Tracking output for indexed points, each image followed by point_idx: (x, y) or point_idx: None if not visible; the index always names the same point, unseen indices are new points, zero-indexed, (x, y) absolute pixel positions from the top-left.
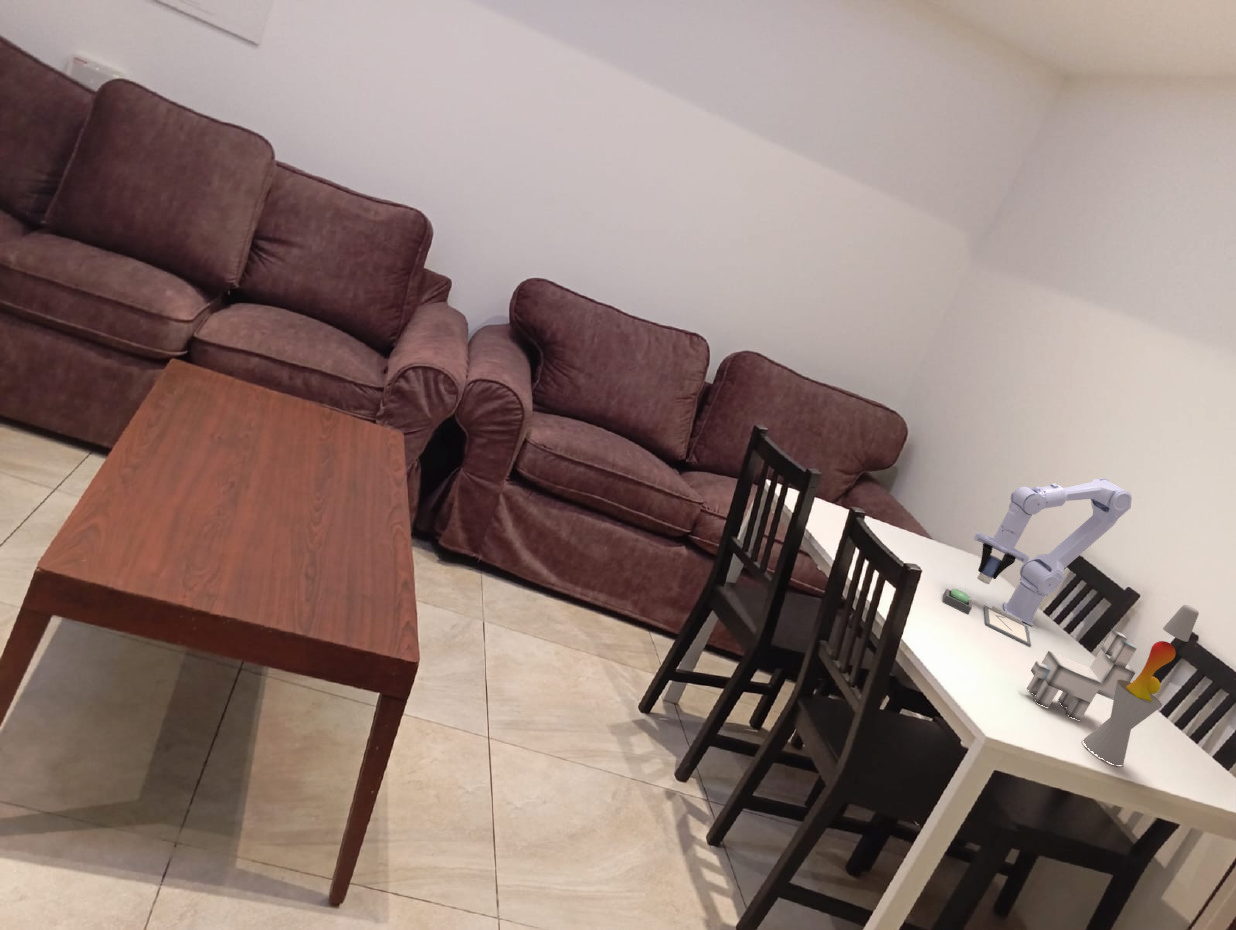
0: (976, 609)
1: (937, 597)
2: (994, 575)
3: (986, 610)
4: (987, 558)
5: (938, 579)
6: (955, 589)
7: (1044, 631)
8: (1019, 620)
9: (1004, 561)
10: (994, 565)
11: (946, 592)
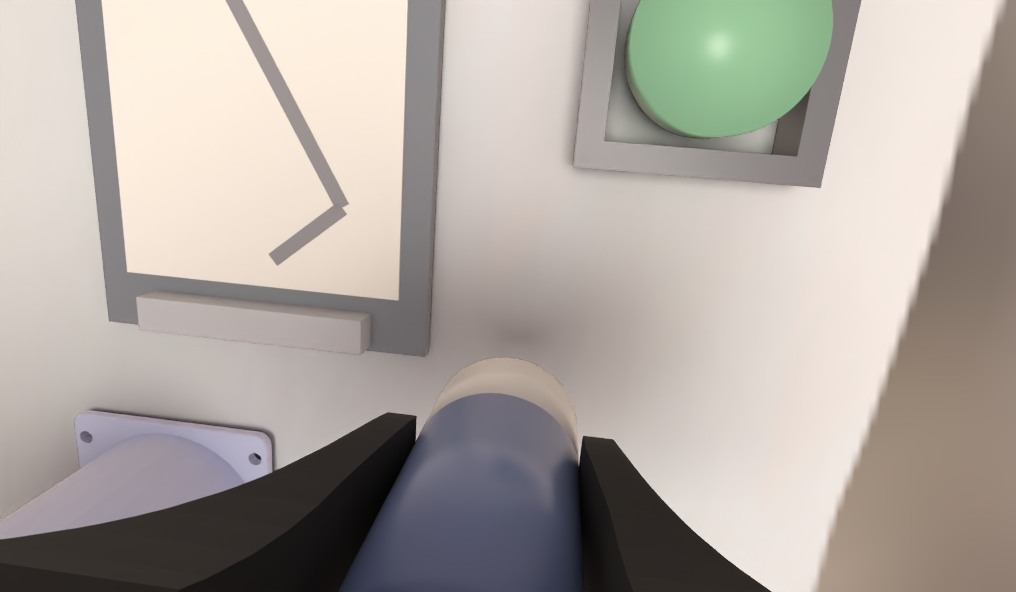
0: (496, 208)
1: (878, 15)
2: (403, 428)
3: (417, 239)
4: (632, 554)
5: (761, 539)
6: (791, 80)
7: (10, 429)
8: (158, 296)
9: (233, 557)
10: (443, 499)
11: (851, 33)
